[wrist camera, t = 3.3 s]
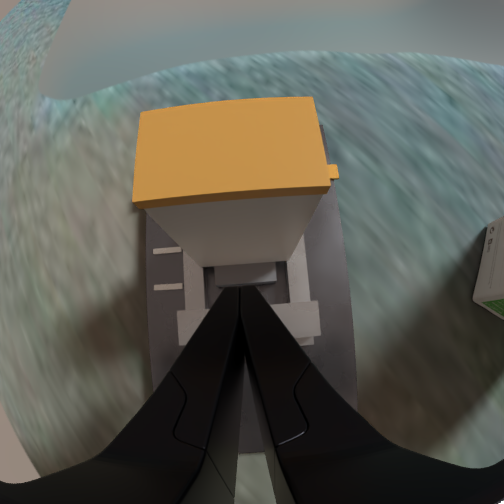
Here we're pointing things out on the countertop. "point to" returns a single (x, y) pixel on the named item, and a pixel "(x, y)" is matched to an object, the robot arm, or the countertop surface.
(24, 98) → the countertop surface
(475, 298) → the skincare box
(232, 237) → the fader
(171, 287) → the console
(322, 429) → the robot arm
